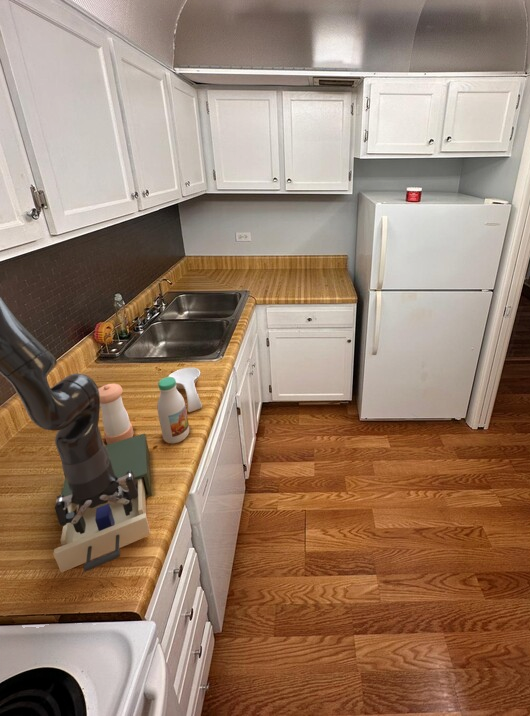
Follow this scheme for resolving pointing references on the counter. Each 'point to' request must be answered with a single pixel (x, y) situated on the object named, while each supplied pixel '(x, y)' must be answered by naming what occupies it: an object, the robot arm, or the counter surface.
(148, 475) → the cabinet
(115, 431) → the salt shaker
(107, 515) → the blue block with post
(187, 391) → the white curved piece
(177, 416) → the milk bottle
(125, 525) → the drawer
